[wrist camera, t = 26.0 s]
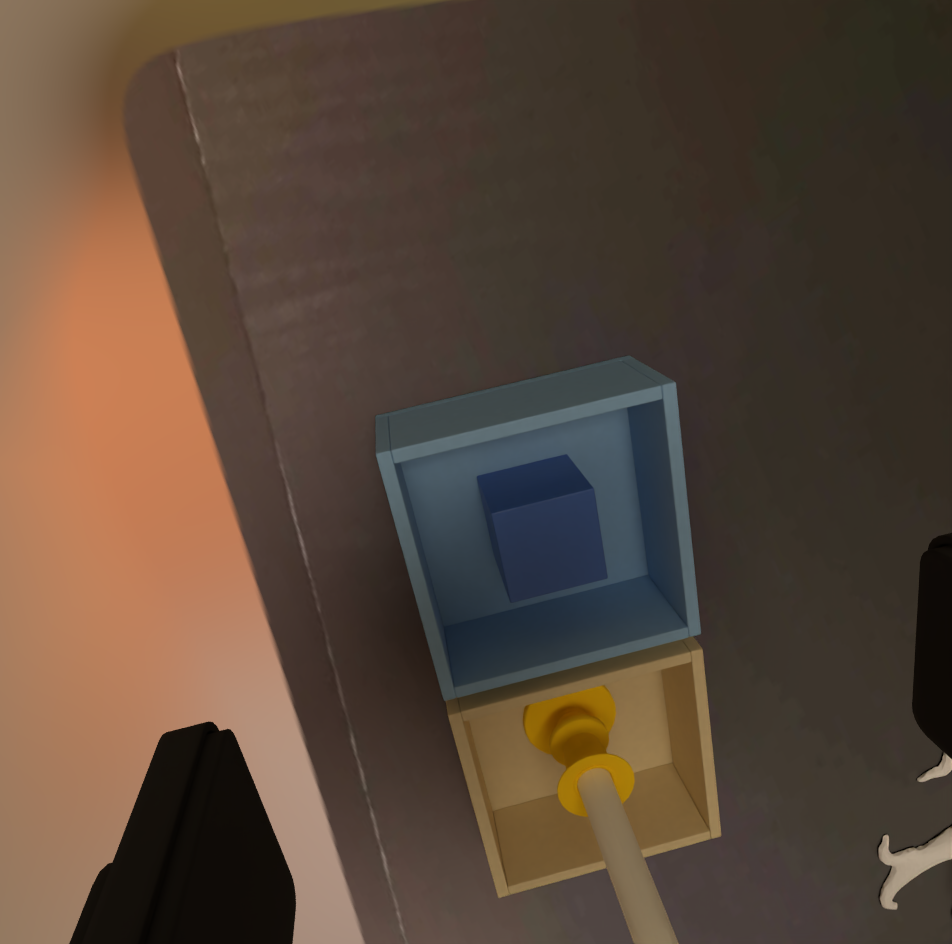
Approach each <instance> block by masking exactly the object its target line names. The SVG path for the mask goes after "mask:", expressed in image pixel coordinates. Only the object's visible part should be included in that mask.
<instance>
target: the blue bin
mask: <svg viewBox="0 0 952 944" xmlns="http://www.w3.org/2000/svg"><path fill="white" fill-rule="evenodd" d="M375 430H376V458H377V461H378V465H379V469H380V472H381V476H382V480H383V483H384V487H385V490H386V494H387V498H388V501H389V505H390V508H391V512H392V516H393V519H394V523H395V526H396V530H397V534H398V537H399V541H400V545H401V548H402V552H403V555H404V559H405V563H406V566H407V570H408V573H409V577H410V581H411V584H412V588H413V591H414V595H415V599H416V602H417V606H418V609H419V613H420V617H421V620H422V624H423V628H424V631H425V635H426V638H427V642H428V646H429V649H430V653H431V656H432V660H433V664H434V667H435V671H436V674H437V678H438V682H439V685H440V689H441V692H442V696H443V700H444V701H447V700H451V699H455V698H456V697H457V698H459V697H463V696H466V695H470V694H474V693H478V692H482V691H486V690H489V689H493V688H497V687H501V686H505V685H509V684H512V683H516V682H520V681H524V680H528V679H532V678H535V677H539V676H543V675H547V674H551V673H555V672H558V671H562V670H566V669H570V668H574V667H578V666H581V665H585V664H589V663H593V662H597V661H601V660H604V659H608V658H612V657H616V656H620V655H624V654H627V653H631V652H635V651H639V650H643V649H647V648H650V647H654V646H658V645H662V644H666V643H670V642H673V641H677V640H681V639H685V638H688V637H692V636H696V635H700V634H701V629H700V619H699V609H698V599H697V589H696V579H695V569H694V559H693V549H692V539H691V529H690V520H689V510H688V500H687V490H686V480H685V470H684V460H683V450H682V440H681V430H680V420H679V410H678V400H677V390H676V383H675V382H674V381H673V380H671V379H669V378H667V377H666V376H664V375H662V374H660V373H659V372H657V371H655V370H654V369H652V368H650V367H648V366H647V365H645V364H643V363H641V362H640V361H638V360H636V359H634V358H633V357H631V356H629V355H628V356H624V357H620V358H616V359H611V360H607V361H603V362H599V363H595V364H590V365H586V366H582V367H578V368H574V369H569V370H565V371H561V372H557V373H552V374H548V375H544V376H540V377H536V378H531V379H527V380H523V381H519V382H515V383H510V384H506V385H502V386H498V387H494V388H489V389H485V390H481V391H477V392H473V393H468V394H464V395H460V396H456V397H451V398H447V399H443V400H439V401H435V402H430V403H426V404H422V405H418V406H414V407H409V408H405V409H401V410H397V411H393V412H388V413H384V414H380V415H376V416H375ZM565 454H567V455H568V456H569V457H570V459H571V460H572V461H573V462H574V464H575V465H576V466H577V467H578V469H579V470H580V471H581V473H582V474H583V475H584V476H585V478H586V479H587V480H588V481H589V483H590V484H591V485H592V487H593V488H594V491H595V497H596V504H597V510H598V516H599V523H600V529H601V536H602V542H603V549H604V555H605V562H606V568H607V575H608V578H607V579H604V580H600V581H596V582H592V583H588V584H584V585H580V586H576V587H572V588H569V589H565V590H561V591H557V592H553V593H549V594H545V595H541V596H537V597H533V598H529V599H525V600H521V601H517V602H514V603H511V602H510V600H509V598H508V595H507V592H506V589H505V586H504V583H503V580H502V577H501V575H500V572H499V569H498V566H497V563H496V560H495V557H494V553H493V549H492V544H491V540H490V535H489V531H488V526H487V522H486V517H485V513H484V508H483V504H482V499H481V495H480V490H479V486H478V481H477V476H479V475H483V474H487V473H491V472H495V471H499V470H503V469H507V468H512V467H516V466H520V465H524V464H528V463H532V462H536V461H540V460H544V459H548V458H553V457H557V456H561V455H565Z"/></svg>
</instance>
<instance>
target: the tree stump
mask: <svg viewBox="0 0 952 944" xmlns="http://www.w3.org/2000/svg"><path fill="white" fill-rule="evenodd" d="M951 770H952V759H951V758H950V757H949V756H948V755H947V754H945V753H944V755H943V757H942V761H941V763H940V765H939V766H938V767H934V768H933V769H931V770H929V771H927V772H925V773H924V774H922V775H921V776H920V777H919V778H917V781H919V782H923V781H927V780H929V779H932V778H935V777H942V776H946V775H947V774H948V773H949V772H950V771H951ZM888 846H889V837H888V835H884V836H883V841H882V843H881V845H880V847H879V849H878V850H879V852H878V853H879V859H880V860H881V861H882V862H883V863H885V864H886V865H891V866H892V869H891V872H890V874H889V876H888V877H887V880H886V881H885V883H884V884H883V887H882V889H881V895H880V901H881V904H882V906H883V907H884V908H886V909H897V903H895V902H893V901H892V899H893V897H894V895H895V894H896V893H897V892H898V890H899V889H901V888H902V887H903V886H904V885H905V884H907V883H908V882H909V881H910V880H912V879H913V878H915V877H916V876H917V875H919V874H920V873H922V872H924V871H925V870H927V869H929V868H930V867H932V866H934V865H936V864H939V863H941V862H943V861H946V860H950V859H952V826H951V827H949V828H948V829H946V830H945V831H944V832H942V833H941V834H940V835H939V836H937V837H936V838H934V839H933V840H931V841H929V842H928V843H927V844H925V845H924V846H919V847H917V848H914V847H912V848H908V849H906V850H903V851H900V852H897V853H895V854H891V853H890V852H889V849H888Z"/></svg>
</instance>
